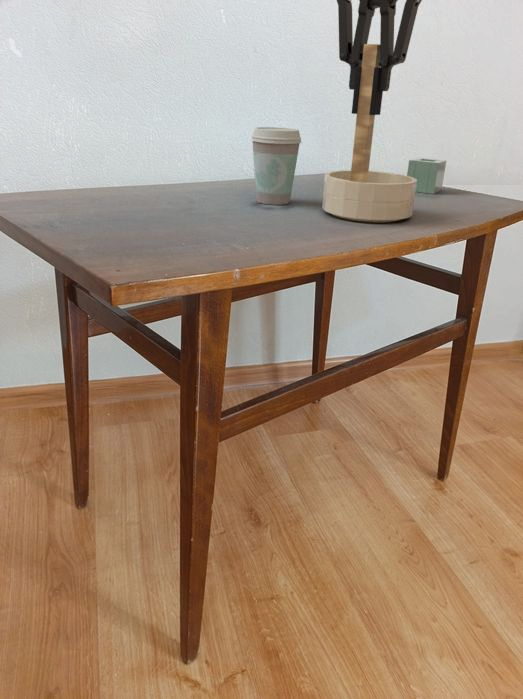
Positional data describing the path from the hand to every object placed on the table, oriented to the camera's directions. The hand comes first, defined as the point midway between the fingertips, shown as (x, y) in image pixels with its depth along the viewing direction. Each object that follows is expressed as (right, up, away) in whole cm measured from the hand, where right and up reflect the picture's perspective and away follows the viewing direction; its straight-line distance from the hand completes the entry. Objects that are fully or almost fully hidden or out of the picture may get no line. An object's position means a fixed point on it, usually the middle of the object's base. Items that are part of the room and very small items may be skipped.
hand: (365, 113), depth 91 cm
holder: (+17, -3, +31) cm, 35 cm away
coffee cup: (-14, -11, +12) cm, 22 cm away
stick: (-1, -11, +5) cm, 12 cm away
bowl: (+1, -14, +5) cm, 15 cm away
